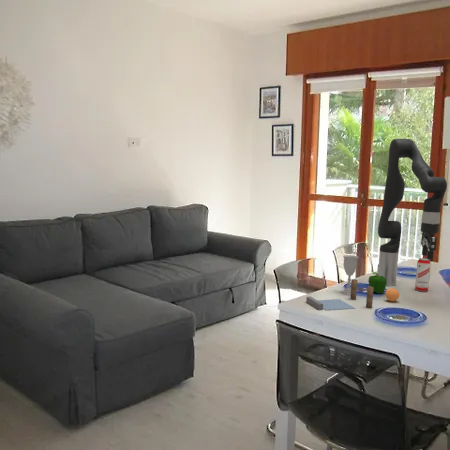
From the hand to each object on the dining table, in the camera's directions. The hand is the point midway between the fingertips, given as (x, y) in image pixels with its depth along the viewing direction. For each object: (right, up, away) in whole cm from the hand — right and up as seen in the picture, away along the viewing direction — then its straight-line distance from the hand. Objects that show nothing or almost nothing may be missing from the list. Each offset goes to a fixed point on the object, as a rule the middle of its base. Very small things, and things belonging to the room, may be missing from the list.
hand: (427, 257), depth 224 cm
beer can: (+7, -18, +25) cm, 32 cm away
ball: (-15, -17, +3) cm, 23 cm away
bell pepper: (-17, -19, +19) cm, 31 cm away
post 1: (-32, -20, +5) cm, 38 cm away
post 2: (-28, -21, -7) cm, 36 cm away
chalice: (-32, -18, +15) cm, 40 cm away
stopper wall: (-52, -21, -7) cm, 57 cm away
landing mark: (-43, -21, -5) cm, 48 cm away
